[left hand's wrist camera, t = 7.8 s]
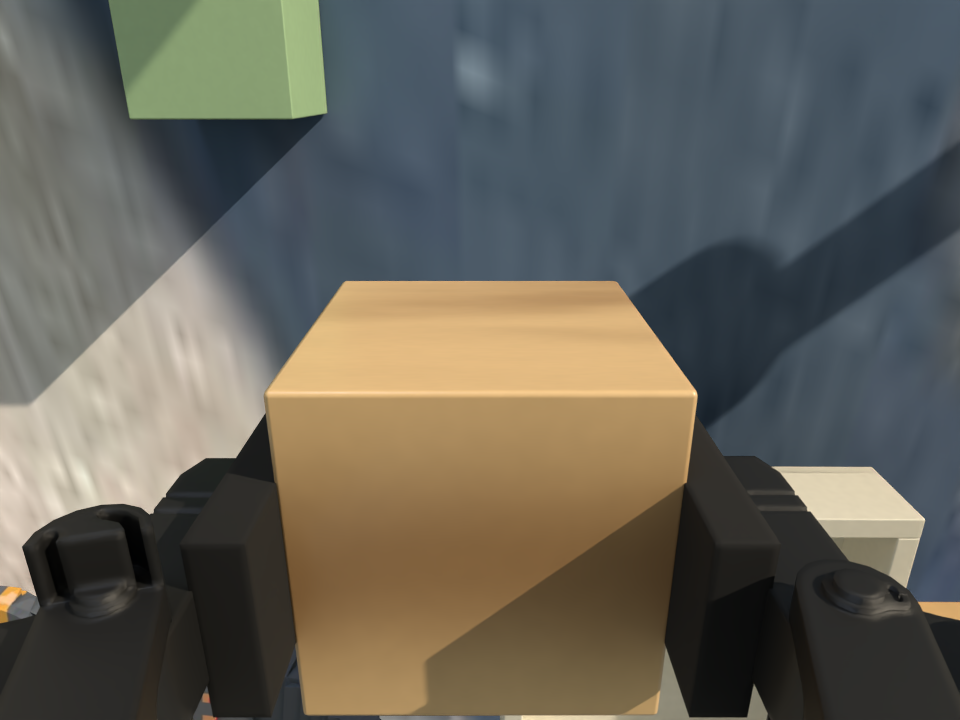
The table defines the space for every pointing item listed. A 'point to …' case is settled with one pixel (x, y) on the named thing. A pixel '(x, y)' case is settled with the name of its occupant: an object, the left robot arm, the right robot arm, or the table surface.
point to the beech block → (480, 499)
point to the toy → (286, 715)
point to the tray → (859, 535)
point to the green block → (220, 58)
